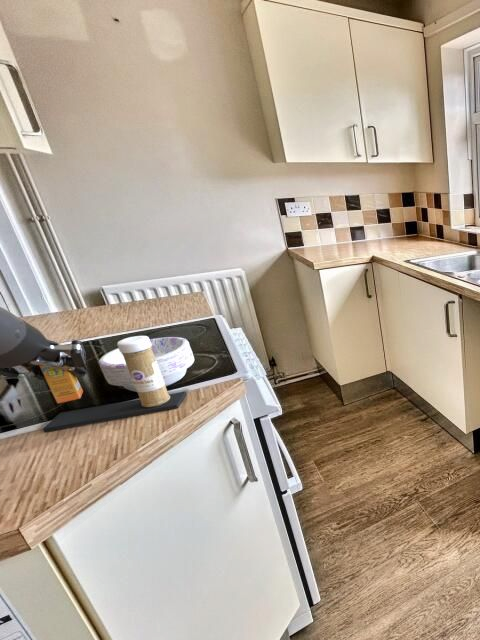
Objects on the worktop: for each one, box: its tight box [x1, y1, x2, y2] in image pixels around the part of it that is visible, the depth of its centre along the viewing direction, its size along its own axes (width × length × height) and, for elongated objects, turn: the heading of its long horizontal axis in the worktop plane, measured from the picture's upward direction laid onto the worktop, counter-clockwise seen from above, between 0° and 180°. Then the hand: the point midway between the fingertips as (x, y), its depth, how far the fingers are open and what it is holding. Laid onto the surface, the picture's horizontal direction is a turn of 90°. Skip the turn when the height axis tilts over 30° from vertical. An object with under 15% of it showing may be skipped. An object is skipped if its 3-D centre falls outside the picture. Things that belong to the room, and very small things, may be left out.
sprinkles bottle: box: [116, 335, 170, 407], centre depth 81 cm, size 5×5×13 cm
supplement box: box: [39, 343, 84, 404], centre depth 76 cm, size 3×3×10 cm
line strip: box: [42, 391, 187, 433], centre depth 81 cm, size 20×6×1 cm, turn 113°
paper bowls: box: [98, 336, 195, 393], centre depth 92 cm, size 15×15×8 cm
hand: (67, 374), depth 78 cm, fingers closed on supplement box, 3 cm apart
